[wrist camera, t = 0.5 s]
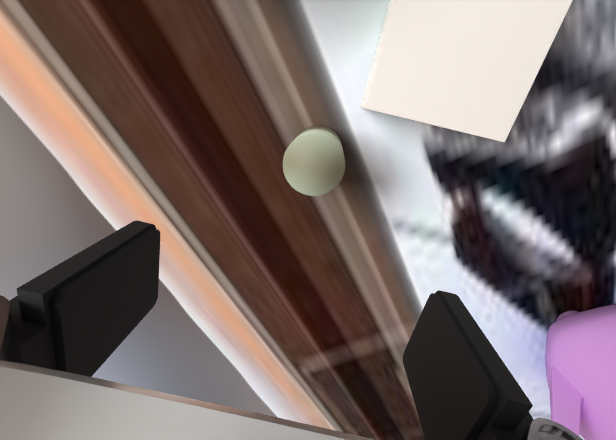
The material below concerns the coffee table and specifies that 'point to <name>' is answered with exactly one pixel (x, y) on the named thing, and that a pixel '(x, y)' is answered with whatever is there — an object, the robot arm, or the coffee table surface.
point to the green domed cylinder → (314, 161)
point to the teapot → (583, 372)
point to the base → (461, 61)
